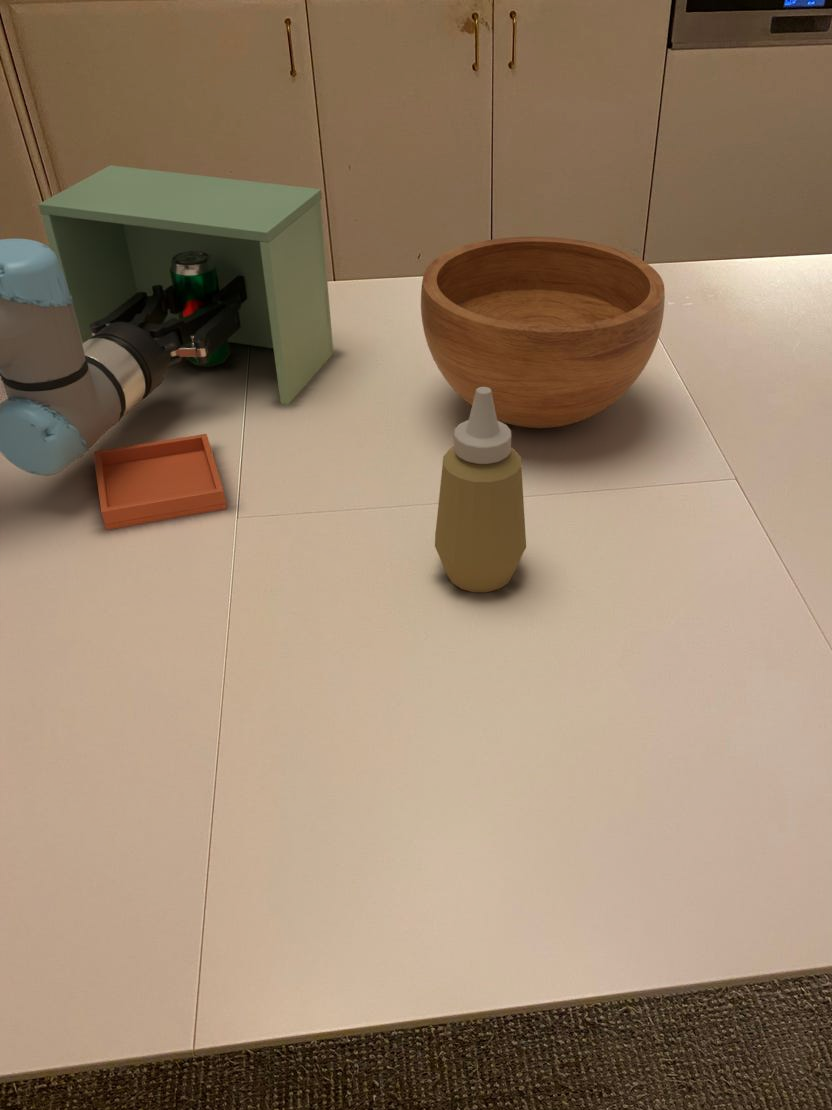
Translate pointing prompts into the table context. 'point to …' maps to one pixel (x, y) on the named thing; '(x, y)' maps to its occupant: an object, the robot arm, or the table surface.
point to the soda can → (196, 292)
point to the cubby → (208, 226)
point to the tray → (157, 481)
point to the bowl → (541, 325)
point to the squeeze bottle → (481, 502)
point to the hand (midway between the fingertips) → (220, 284)
